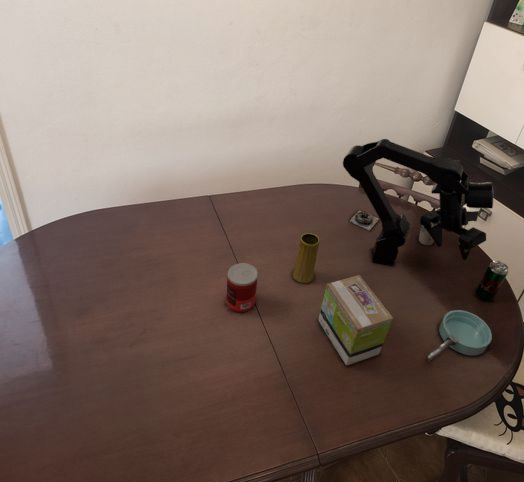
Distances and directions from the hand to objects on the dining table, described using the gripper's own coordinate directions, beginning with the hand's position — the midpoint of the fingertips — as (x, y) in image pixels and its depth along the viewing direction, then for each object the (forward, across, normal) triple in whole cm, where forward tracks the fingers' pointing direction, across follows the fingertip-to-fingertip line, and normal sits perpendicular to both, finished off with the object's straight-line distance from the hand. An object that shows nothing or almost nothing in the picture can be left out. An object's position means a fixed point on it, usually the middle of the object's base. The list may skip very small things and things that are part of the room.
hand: (452, 252), depth 133 cm
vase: (-2, +18, +39) cm, 43 cm away
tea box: (+4, -5, +41) cm, 42 cm away
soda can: (+14, -7, -4) cm, 16 cm away
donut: (+1, +33, +5) cm, 34 cm away
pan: (+12, -16, +13) cm, 24 cm away
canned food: (-6, +16, +60) cm, 62 cm away
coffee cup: (+8, +18, -7) cm, 20 cm away
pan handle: (+9, -18, +24) cm, 31 cm away
